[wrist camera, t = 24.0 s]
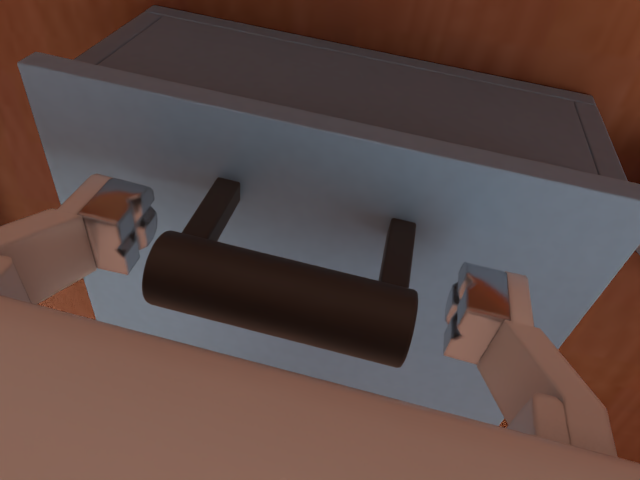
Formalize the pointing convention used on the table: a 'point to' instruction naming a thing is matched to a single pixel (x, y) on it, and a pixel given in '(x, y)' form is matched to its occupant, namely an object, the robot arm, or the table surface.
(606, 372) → the table surface
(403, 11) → the table surface
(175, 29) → the chest
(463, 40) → the table surface
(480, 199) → the lid
